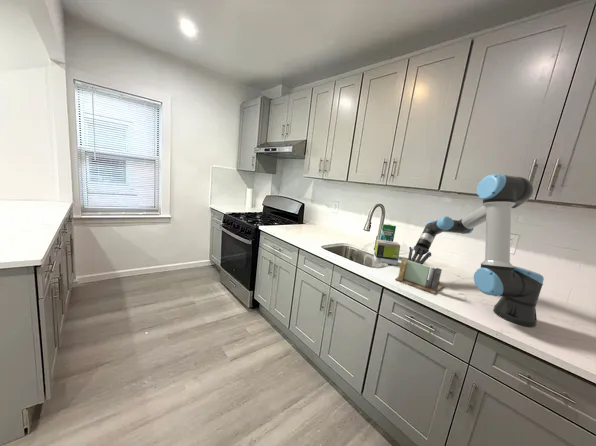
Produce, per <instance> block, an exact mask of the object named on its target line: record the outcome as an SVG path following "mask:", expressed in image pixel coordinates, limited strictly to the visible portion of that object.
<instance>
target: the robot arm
mask: <svg viewBox="0 0 596 446" xmlns="http://www.w3.org/2000/svg"><path fill="white" fill-rule="evenodd" d="M533 194H534V186H533V183H532V182H531V181H530V180H529V179H527V178H526V177H522V176H515V175H508V174H501V173H492V174H488V175H486V176H484V177H483V178H482V179H481V180H480V181H479V183H478V184H477V188H476V195H477V196H478V197H479V199H481V200H482V206H480V207H479V208H477V209H475V210H474V211H472V212H471V213H469V214H467V215H466V216H464V217H463V218H461V219H459V220H456V219H452V217H449V216H443V217H440V218H439V219H437V220H429V221H428V222H427V223H426V224H425V227H424V229H423V231H422V233H421V234H420V236H419V238H418V240H417V242H416V244H415V245H414V246H413V247H411V246H409V247H408V248H409V252H408V257H407V260H409V261H413V262H416V263H419V264H422V265H424V263H425V262H426V261H427V260H428V258H430V257H432V252H431V251H430V248H431V246H432V244H433V242H434V241H435V238H436V236H437V235H439V234H441V233H444V232H445V233H454V234H465V235H466V234H467V235H468V234H471V233H472V232H473V231H474V228H476V227H478V226H479V225H481V224H483V223H485V248H484V250H485V251H484V252H485V253H484V260H483V261H482V262H480V268H478V269H476V271H474V273H473V281H474V284H475V287H476V288H477V289H478V290H479V292H481V293H482V294H484V295H487V296H493V297H501V298H499V299H498V301H497V302H496V304H494V306H493V309H492V310H493V313H494V314H496V316H498V317H500V318H502V319H504V320H506V321H508V322H511V323H513V324H516V325H519V326H522V327H528V328H529V327H531V328H534V327H536V326H537V323H538V317H537V309H536V306H537V304H538V300H539V298H540V294H541V292H542V291H541V290H542V287H543V285H544V281H545V280H544V279H545V278H544V276H543V275H542V274H541V273H537V272H536V271H532V270H530V269H526V268H523V267H520V266H515V265H514V264H512V263H511V262H510V261H511V259H510V258H511V226H512V225H511V224H512V222H511V221H512V209H516V208H518V207H520V206H522V205H524V203H526V202H527V201H529V200H530V198H531V197H532V195H533ZM413 252H414V254H413Z"/></svg>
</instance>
